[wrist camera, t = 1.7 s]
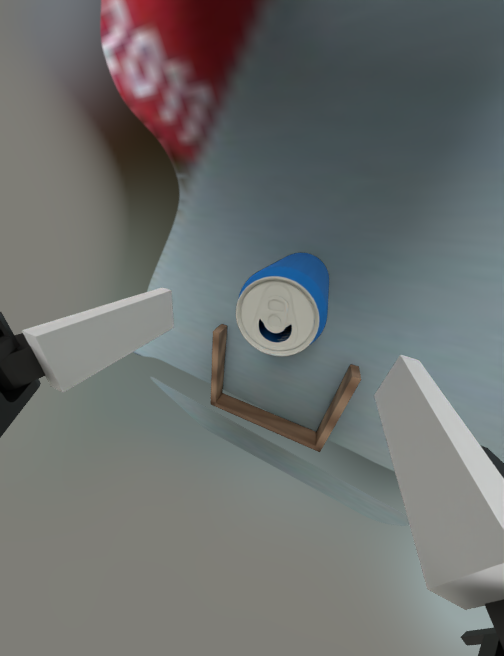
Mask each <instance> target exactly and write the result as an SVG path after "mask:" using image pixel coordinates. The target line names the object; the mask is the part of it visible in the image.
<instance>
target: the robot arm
mask: <svg viewBox="0 0 504 656" xmlns="http://www.w3.org/2000/svg"><path fill="white" fill-rule="evenodd" d="M172 328H174V320H173V306H172V293H171V290H168V289H165V288H159V289H156V290H152V291H149V292H146V293H143V294H139V295H136V296H133V297H129V298H126V299H123V300H120V301H116V302H113V303H110V304H107V305H103V306H100V307H97V308H93V309H90V310H87V311H84V312H80V313H77V314H74V315H71V316H67V317H64V318H61V319H57V320H55V321H51V322H48V323H44V324H41V325H38V326H35V327H31V328H28V329H25V330H22V332H23V333H22V334H18V335H14V334H13V332H12V331H11V329H10V327H9V325H8V323H7V322H6V320H5V318H4V316H3V314H2V313H1V312H0V437H1V436H2V435H3V433H4V432H5V431H6V429H7V428H8V427H9V426H10V424H11V423H12V422H13V420H14V419H15V418H16V416H17V415H18V413H20V411H21V410H22V409H23V407H24V406H25V405H26V403H27V402H28V401H29V400H30V398H31V397H32V396H33V394H34V393H35V392H36V391H37V389H38V388H39V386H40V381H39V378H41V377H43V376H46V378H47V380H48V382H49V383H50V385H51V386H52V387H54V388H55V389H57V390H59V391H61V392H65V391H67V390H68V389H70V388H72V387H73V386H75V385H77V384H78V383H80V382H82V381H84V380H85V379H87V378H89V377H90V376H92V375H94V374H95V373H97V372H99V371H101V370H102V369H104V368H106V367H108V366H109V365H111V364H113V363H114V362H116V361H118V360H119V359H121V358H123V357H124V356H126V355H128V354H130V353H131V352H133V351H135V350H137V349H138V348H140V347H142V346H143V345H145V344H147V343H148V342H150V341H152V340H154V339H155V338H157V337H159V336H160V335H162V334H164V333H166V332H167V331H169V330H171V329H172ZM374 397H375V401H376V404H377V408H378V411H379V415H380V419H381V422H382V426H383V430H384V433H385V437H386V440H387V444H388V448H389V451H390V455H391V459H392V462H393V466H394V470H395V473H396V477H397V480H398V484H399V488H400V491H401V495H402V498H403V502H404V506H405V509H406V512H407V517H408V520H409V524H410V528H411V531H412V535H413V538H414V542H415V546H416V549H417V553H418V557H419V560H420V563H421V567H422V571H423V575H424V578H425V582H426V586H427V589H428V590H430V591H432V592H434V593H435V594H437V595H439V596H441V597H443V598H445V599H446V600H448V601H450V602H452V603H454V604H456V605H458V606H460V607H461V608H463V609H465V610H467V609H471V608H476V607H480V606H486V609H487V611H488V614H489V616H490V618H491V621H492V623H493V625H494V628H488V629H481V630H473V631H467V632H465V633H464V634H463V635H462V636H461V638H462V640H463V641H464V642H465V644H466V645H477V644H481V647H480V651H479V654H478V656H504V463H503V462H502V461H501V460H500V459H499V458H498V457H496V456H495V455H494V454H493V453H492V452H491V451H490V450H489V449H488V448H486V447H483V446H480V445H479V443H478V442H477V441H476V439H475V438H474V436H473V435H472V434H471V432H470V431H469V429H468V428H467V427H466V425H465V424H464V422H463V421H462V420H461V418H460V417H459V415H458V414H457V413H456V411H455V410H454V408H453V407H452V406H451V404H450V403H449V401H448V400H447V399H446V397H445V396H444V394H443V393H442V392H441V390H440V389H439V387H438V386H437V385H436V383H435V382H434V380H433V379H432V378H431V376H430V375H429V373H428V372H427V371H426V369H425V368H424V366H423V365H422V364H421V362H420V361H419V360H417V359H414V358H410V357H406V356H403V355H400V356H399V357H398V359H397V360H396V362H395V364H394V365H393V367H392V368H391V370H390V371H389V373H388V375H387V376H386V378H385V379H384V381H383V382H382V384H381V385H380V387H379V389H378V390H377V392H376V393H375V395H374Z"/></svg>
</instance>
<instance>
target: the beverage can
mask: <svg viewBox="0 0 504 656" xmlns="http://www.w3.org/2000/svg"><path fill="white" fill-rule="evenodd" d="M328 293H329V274H328V271H327V269H326V266H325V265H324V263H323V262H322V261H321V260H320V259H318V258H317V257H315V256H314V255H311V254H308V253H294V254H291V255H289V256H287V257H285V258H283V259H281V260H279V261H277V262H275V263H273V264H271V265H270V266H268V267H266V268H264V269H262V270H260V271H258V272H257V273H255V274H254V275H252V276H251V277H250V278H249V279H248V280H247V281H246V283H245V284H244V286H243V287H242V289H241V292H240V294H239V298H238V302H237V306H236V320H237V324H238V327H239V329H240V331H241V333H242V335H243V336H244V338H245V339H246V340H247V341H248V342H249V343H250V344H251V345H252V346H253V347H255V348H256V349H258V350H259V351H261V352H263V353H266V354H269V355H273V356H289V355H293V354H296V353H299V352H301V351H302V350H304V349H305V348H306V347H308V346H309V345H310V344H312V343H313V342H314V341H315V340H316V339H317V338H318V337H319V336H320V334H321V333H322V331H323V329H324V327H325V324H326V321H327V312H328Z"/></svg>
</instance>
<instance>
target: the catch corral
mask: <svg viewBox="0 0 504 656" xmlns="http://www.w3.org/2000/svg"><path fill="white" fill-rule="evenodd" d="M226 336H227V326H226V325H223V324H221V325H220V326H219V327H217V328H216V329H215V330H214V331H213V349H212V379H211V405H214V406H216V407H218V408H220V409H222V410H225V411H227V412H230V413H232V414H234V415H236V416H239V417H241V418H243V419H245V420H248V421H250V422H252V423H254V424H257V425H259V426H261V427H264V428H266V429H268V430H270V431H273V432H275V433H277V434H280V435H282V436H284V437H286V438H289V439H291V440H293V441H295V442H298V443H300V444H303V445H305V446H307V447H309V448H311V449H314V450H316V451H318V452H320V451H321V449H322V447H323V445H324V444H325V442H326V440H327V439H328V437H329V435H330V433H331V432H332V430H333V428H334V426H335V425H336V423H337V421H338V419H339V418H340V416H341V414H342V412H343V411H344V409H345V407H346V405H347V404H348V402H349V400H350V398H351V396H352V395H353V393H354V391H355V389H356V388H357V386H358V384H359V382H360V381H361V376H360V371H359V367H358V366H355V365H352V364H350V366H349V368H348V370H347V372H346V374H345V376H344V378H343V380H342V382H341V384H340V386H339V388H338V390H337V392H336V394H335V396H334V398H333V400H332V402H331V404H330V406H329V408H328V410H327V412H326V414H325V416H324V418H323V420H322V422H321V424H320V426H319V428H318V430H317V432H315V431H313V430H310V429H308V428H305V427H303V426H301V425H298V424H296V423H293V422H291V421H288V420H286V419H284V418H281V417H279V416H276V415H274V414H272V413H269V412H267V411H264V410H262V409H260V408H257V407H254V406H252V405H250V404H247V403H245V402H243V401H240V400H238V399H235V398H233V397H230V396H228V395H225V394H223V393H222V389H223V376H224V363H225V349H226Z"/></svg>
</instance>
